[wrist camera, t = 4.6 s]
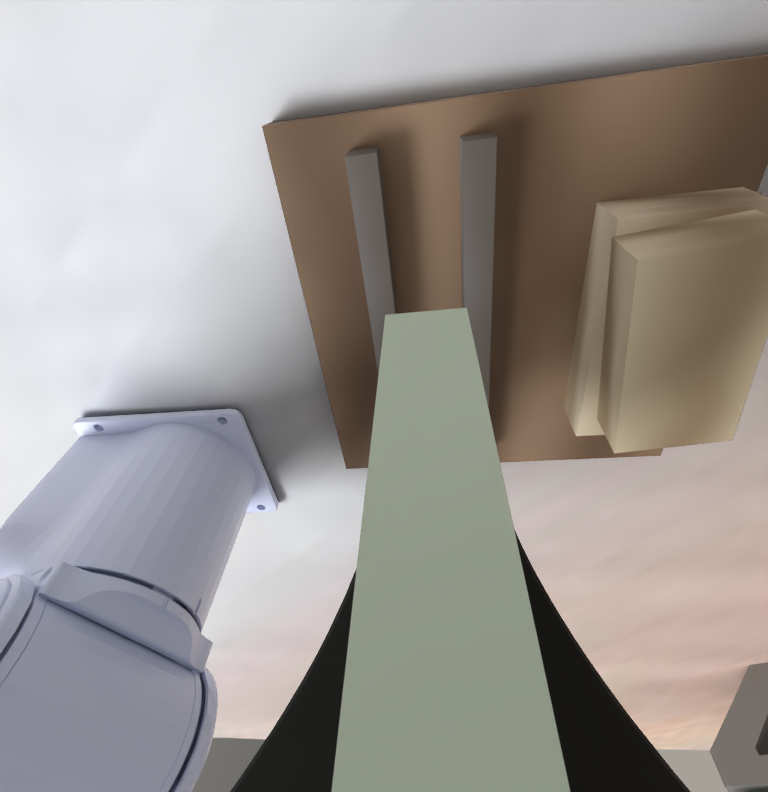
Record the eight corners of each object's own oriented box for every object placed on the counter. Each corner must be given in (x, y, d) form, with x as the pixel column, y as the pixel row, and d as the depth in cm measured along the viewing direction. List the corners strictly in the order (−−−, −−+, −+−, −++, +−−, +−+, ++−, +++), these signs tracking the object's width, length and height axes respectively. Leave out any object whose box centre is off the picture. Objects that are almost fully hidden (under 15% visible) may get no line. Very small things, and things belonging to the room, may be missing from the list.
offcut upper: (596, 419, 18) (614, 453, 17) (612, 237, 14) (637, 260, 12) (703, 405, 17) (732, 440, 16) (755, 209, 13) (803, 229, 11)
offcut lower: (563, 406, 20) (576, 436, 19) (596, 202, 15) (618, 219, 13) (668, 401, 20) (691, 430, 18) (742, 186, 14) (783, 202, 13)
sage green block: (417, 548, 17) (419, 906, 10) (385, 314, 11) (330, 798, 4) (469, 547, 17) (512, 913, 9) (466, 307, 11) (575, 809, 4)
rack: (348, 455, 25) (343, 485, 23) (270, 122, 15) (251, 131, 13) (652, 441, 23) (671, 473, 21) (784, 50, 13) (841, 49, 11)
